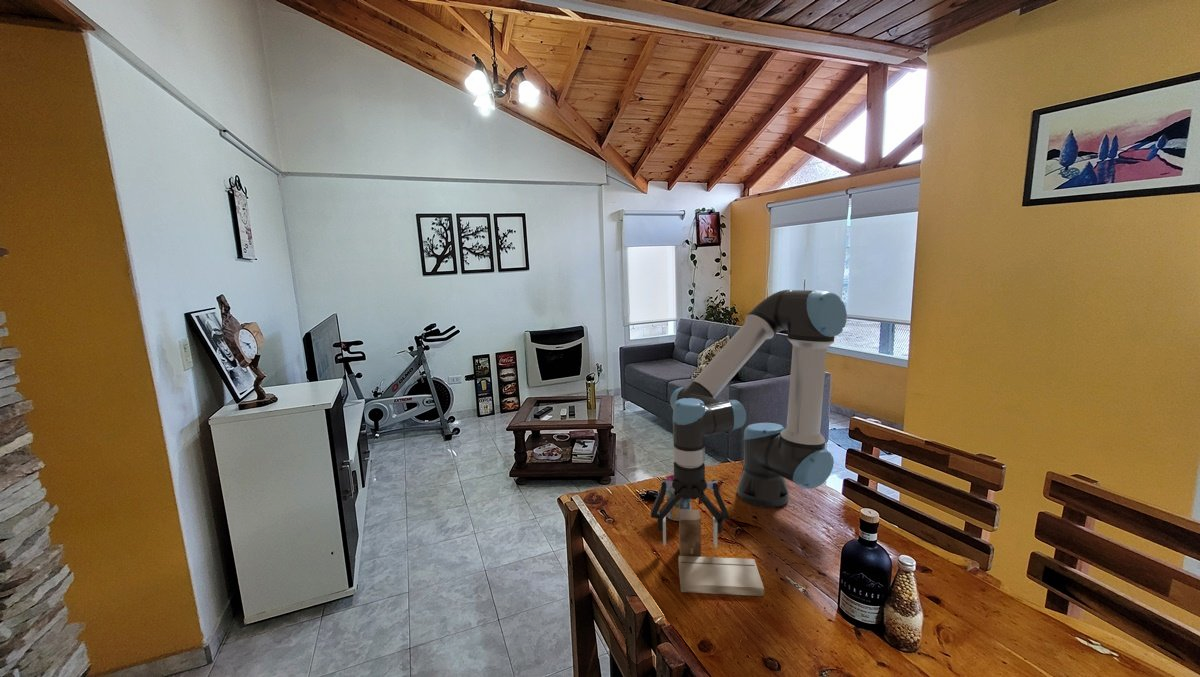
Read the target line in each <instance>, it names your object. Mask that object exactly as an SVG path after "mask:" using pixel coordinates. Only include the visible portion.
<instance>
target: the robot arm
mask: <svg viewBox="0 0 1200 677" xmlns="http://www.w3.org/2000/svg"><path fill="white" fill-rule="evenodd" d="M847 319H848V316H847V308H846V304H845V303H844V301H843V300H841V297H840V296H839V295H838V294H836V293H835V292H831V291H826V290H820V289H816V290H804V289H802V290H801V289H799V290H798V289H797V290H796V289H795V290H794V289H783V290H779V291H776V292H775V293H772V294H771V295H769V296H767V297H766V298H764V299H763V300H761V301H760V302H759V303H758V304H757V305H755V307H753V308H752V309H751V311H750V312H749V313H748V314H747V315H746V316H745V317H744V323H743V324H742V325H741V327H740V328H739V329H738V330H736V332H735V333H734V335H733V336H732V337H731V338H730V339H729V340H728V341H727V342H726V344H725V345H724V346H723V347H722V348H721V349H720V350H719V351H718V353H717V354H715V356H714V357H713V358H712V360H711V361H710V362H708V364H707V365H706V366H705V367H704V368H703V369H702V370H701V371H700V373H698V374H697V376H696V377H695V378H694V380H692V382H691V383H689V385H687V387H682V386H681V387H679V388H676V389H675V390H673V392H672V393H671V396H670V401H669V404H670V407H671V408H672V410H673V411H672V433H673V434H672V435H673V437H672V438H673V440H672V441H673V444H672V445H673V446H672V447H673V449H672V450H673V475H674V479H673V480H672V481H666V479H664V478H661V480H660V483H661V484H660V489H659V490H658V493H657V495H656V498H655V500H654V502H653V504H652V507H651V509H650V518H652V519H657V527H658V528H657V530H658V532H662V545H663V546H667V521H666V520H667V519H666V518H667V517H666V515H667V514H668V512H669V511H670V510H671V509H672V507H673V506H674V505H675V504H676V502H678V501H679V500H680V499H681V498H683V499H690V500H695V501H696V500H697V499H699V501H700V502H701V503H702V504H703V505H704V506H705V507H706V509H707V510H708V511H709V513H710V514H711V516H713V517H712V543H713V548H718V534H722V532H723V522H724V521H729V520H730V519H731V518H730V514H729V511H728V509H727V506H726V504H725V502H724V500H723V498H722V496H721V494H720V490H719V485H718V480H717V479H712V481H706V473H705V472H706V470H705V468H706V467H705V466H706V465H705V462H706V457H705V456H706V455H705V454H706V446H705V445H706V437H708V436H709V437H711V436H713V435H717V434H722V433H727V432H733V431H735V430H738V429H740V428H742V427H744V425H745V424H746V422H747V411H746V409H745V407H744V405H743V404H742V403H741V402H740V401H739V400H737V399H725V400H719V399H716V397H717V396H718V395H719V394H720V393H721V391H722V390H723V389H724V388H725V387H726V386H727V385H728V384H729V382H730V381H731V380H732V379H733V378H734V377H735V376H736V375H737V373H738V372H739V371H740V370H741V369H742V367H743V366H744V365H745V364H746V363H748V361H749V360H750V358H751V357H752V356H753V355H754V354H755V353H756V351H758V349H759V348H760V347H761V346H762V344H764V342H765V341H767V340H771V339H773V337H775V335H776V334H777V333H779V332H782V331H787V337H786V338H787V340H788V342H790V343H791V346H792V349H791V350H792V353H791V365H790V376H789V390H788V402H787V403H788V404H787V418H786V427H785V428H784V426H783V425H782V424H779V423H774V422H759V423H751V424H748V425H747V426H746V427H745V428H744V432H743V434H744V435H743V439H742V440H743V471H742V474H741V476H740V478H739V482H738V484H737V495H738V497H739V499H740V500H742V501H743V502H745V503H747V504H750V505H752V506H755V507H760V508H767V509H771V508H773V509H774V508H779V507H783V506H785V505H786V504H787V503H788V502H789V499H790V497H789V496H790V494H789V492H790V491H789V489H788V485H787V482H786V480H789V481H790V482H792V483H794V484H795V485H797V486H801V487H804V488H805V489H809V490H810V489H812V490H813V489H817V488H818V487H821V486H822V485H823V484H824V483H825V482H826V481H827V480H828V479H829V477H830V476H831V473H832V471H833V469H834V460H835V459H834V457H833V455H832V453H831V452H830V451H828V449H826V438H825V437H824V436H823V435H822V433H821V424H822V414H823V413H822V412H823V400H824V390H825V389H824V388H825V378H826V377H825V376H826V368H827V367H826V365H827V356H828V355H827V354H828V348H829V347H830V346H831V345H832V344H834V343H835V337H836V336H838V335H840V334H841V333H842V332H843V331H844V329H843V328H845V326H846V324H847V321H848V320H847ZM671 486H672V487H673V488H674V490H675V491H674V492H673V494H672V496H671V497H670V498H669V499H668V501H667V500H666V501H665V503H664V505H662V503H663V502H664V501H663V500H664V498H665V496H666V490H669V488H670V487H671ZM707 488H708V489H709V491H711V492H713V495H714V497H715V501H716V502H717V505H718V507H719V509H720V511H721V512H720V511H719V510H718V509H717V507H715V505H714V504H713V502H712V501H711V500H710V499H709V497H708V496H707V495H706V493H705V490H706V489H707ZM661 505H662V507H661Z"/></svg>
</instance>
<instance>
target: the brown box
mask: <svg viewBox="0 0 1200 677" xmlns="http://www.w3.org/2000/svg"><path fill="white" fill-rule="evenodd" d="M678 531H679V532H678V534H679V535H678V538H679V540H678V541H679V546H678V547H679V556H695V557H702V519H701V513H700V509H692V508H691V509H679V521H678Z"/></svg>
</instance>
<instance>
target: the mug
mask: <svg viewBox="0 0 1200 677" xmlns="http://www.w3.org/2000/svg"><path fill="white" fill-rule="evenodd" d="M663 479H666V481H672V480H673V479H674V474H671V475H667V476H665V477H664V478H663ZM674 491H675V490H674V488H673V487H672V486H671V487H670V488H669V490H666V494H665V496H666V502H667V501H668V499H669V498H670V497H671V496H672V494H673V492H674ZM679 509H692V505H691V499H683V498H681V499H680V500H679V501H678V502H676V504H675V505H674V506H673V507H672V509H671V510H670V511H669V512H668V514H667V515H666V518H667V519H669V520H671V521H675V522H679Z"/></svg>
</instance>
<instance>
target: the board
mask: <svg viewBox="0 0 1200 677" xmlns="http://www.w3.org/2000/svg"><path fill="white" fill-rule="evenodd" d="M677 558H678V562H677V563H678V575H679V586H680V592H681V593H695V594H697V593H698V594H711V595H712V594H717V595H734V596H755V597H756V596H757V597H765V587H764V584H763V580H762V578H761V575H760V572H759V570H758V566H757V563H756V561H755V560H756V559H755V558H743V557H742V558H739V557H738V558H737V557H716V556H715V557H714V556H701V557H695V556H680V555H678V557H677Z"/></svg>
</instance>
